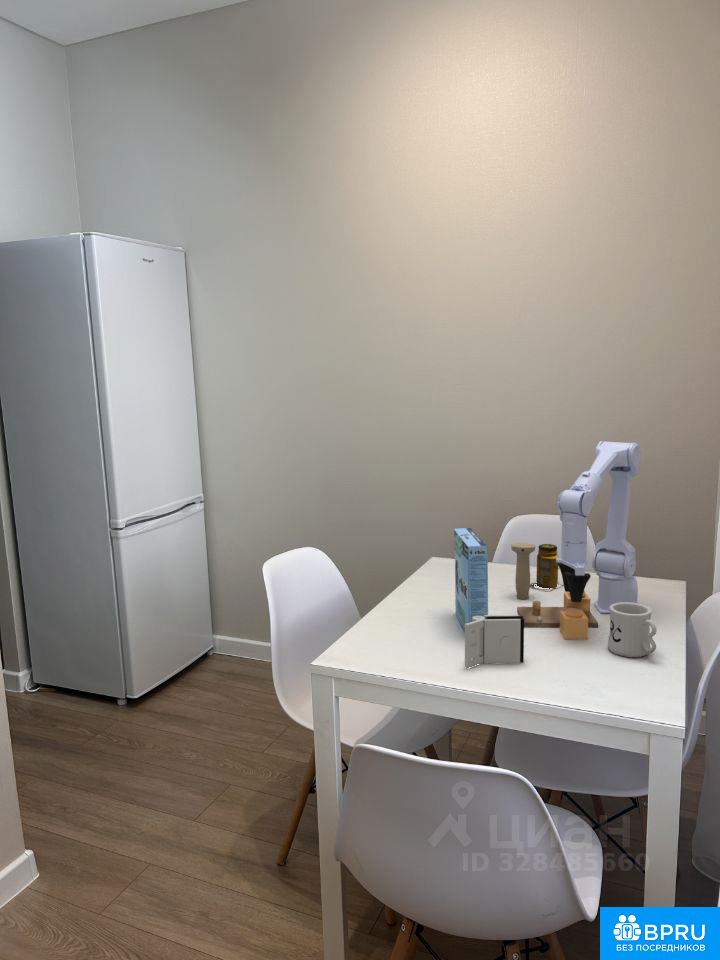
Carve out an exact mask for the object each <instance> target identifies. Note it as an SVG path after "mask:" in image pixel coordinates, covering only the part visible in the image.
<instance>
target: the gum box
mask: <svg viewBox="0 0 720 960" xmlns="http://www.w3.org/2000/svg"><path fill="white" fill-rule="evenodd" d="M453 531H454V587H455V588H454V591H455V592H454V593H455V600H454V601H455V606H454V607H455V614H456V617H457V620H458V621H459V623H460V625H461V627H462V629H463V631H464V632H465V624H467V623H470V622H472V617H473V616H483V617H484V615H489V575H488V574H489V572H488V569H489V567H488V566H489V565H488V563H489V561H488V559H489V558H488V555H489V553H488V545H487V544H486V543H485V542H484V541H483V539H482V538H481V537H480V536H479V535H478V534H477V533H476V531H474V529H473V528H471V527H464V528H463V527H462V528H461V527H460V528H454V529H453Z"/></svg>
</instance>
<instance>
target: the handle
mask: <svg viewBox="0 0 720 960" xmlns="http://www.w3.org/2000/svg"><path fill="white" fill-rule="evenodd" d="M510 547H511V551H513V552H514V553H515V554H516V567H515V590H516V591H515V592H516V598H517V599H519V600H528V599H529V595H530V589H531V587H530V584H531V567H530V564H531V563H530V555H531V553H534V552H535V551H536V544H534V543H528V542H527V543H526V542H516V543H515V542H514V543H511V545H510Z"/></svg>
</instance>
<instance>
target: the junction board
mask: <svg viewBox="0 0 720 960" xmlns="http://www.w3.org/2000/svg"><path fill="white" fill-rule="evenodd" d="M541 604H542V603H541V601H539V600H532V606H517V607H516V612H517V615H519V616H523V618H524V628H557V629H558V628H559V629H560V611H565V610H566V609H569V608H577V609H580V610H582V611H583V612H584V613H585V615H586V616H587V618H588V629H589V628H592V629H594V628H599V621H598V620H597V619H596V617H595V616H594V615H593V613H592V612H591V598H590V597H589V595H588V594H587V592H586V591H585V590H584V593H583V597H582V600H581V602H572V601H571V598H570V592H565V591H564V592H563V606H541Z"/></svg>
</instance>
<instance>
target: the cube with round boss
mask: <svg viewBox="0 0 720 960" xmlns="http://www.w3.org/2000/svg"><path fill="white" fill-rule="evenodd" d="M559 632H560V634H561V635H562V638H563V639H564V640H588V639H589V634H588V633H589V628H588V618H587V616H586V615H585V613H584V612H583V611H582V610H580V609H577V608H569V609H566V610H565V611H560V628H559Z"/></svg>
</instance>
